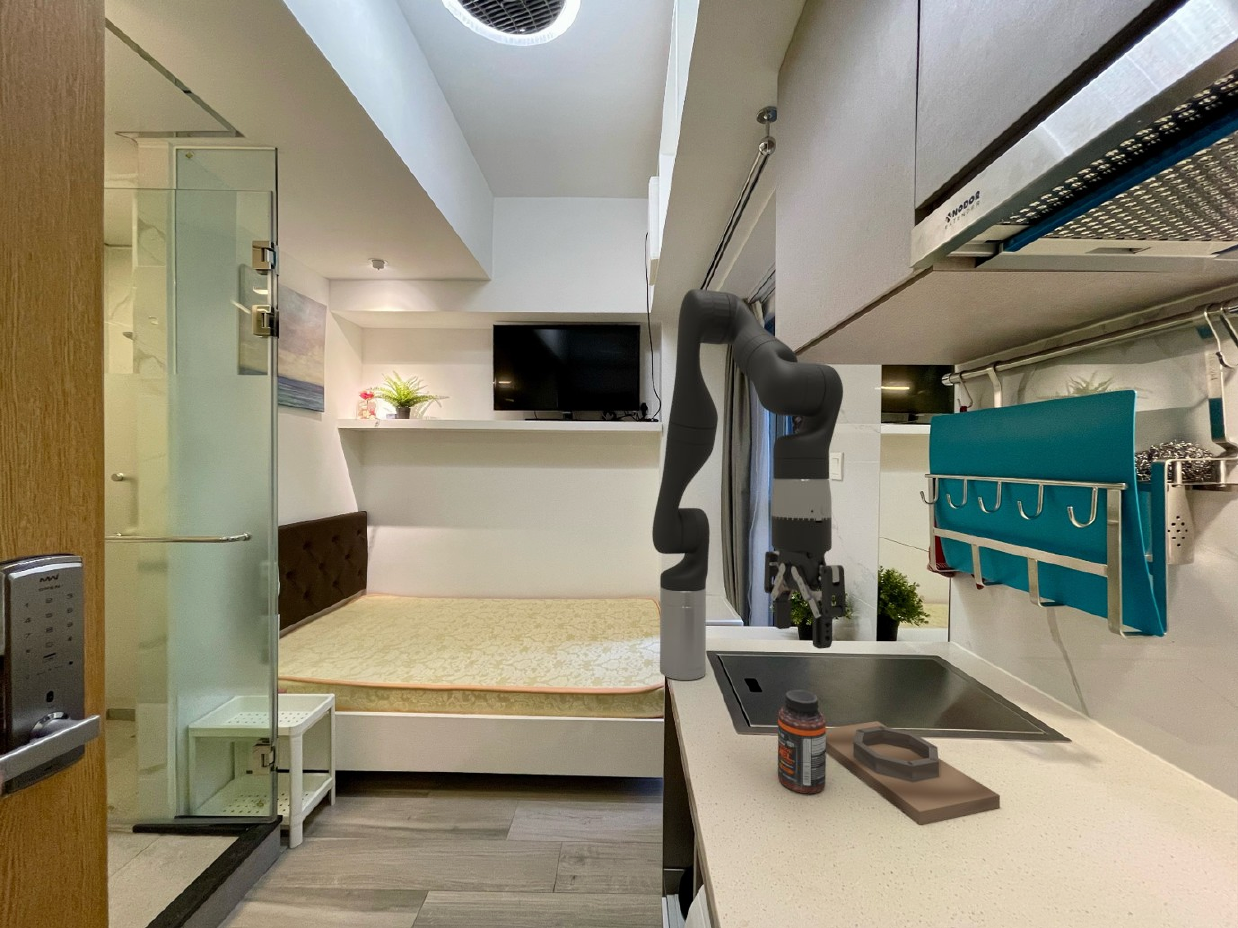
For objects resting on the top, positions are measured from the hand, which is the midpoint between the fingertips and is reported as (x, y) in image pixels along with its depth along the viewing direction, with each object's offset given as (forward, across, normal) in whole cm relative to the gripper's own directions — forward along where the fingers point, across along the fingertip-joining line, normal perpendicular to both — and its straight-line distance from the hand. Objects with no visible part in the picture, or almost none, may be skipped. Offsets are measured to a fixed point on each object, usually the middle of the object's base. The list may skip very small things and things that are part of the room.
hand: (801, 637), depth 70 cm
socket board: (+19, +1, +14) cm, 23 cm away
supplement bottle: (+19, 0, 0) cm, 19 cm away
